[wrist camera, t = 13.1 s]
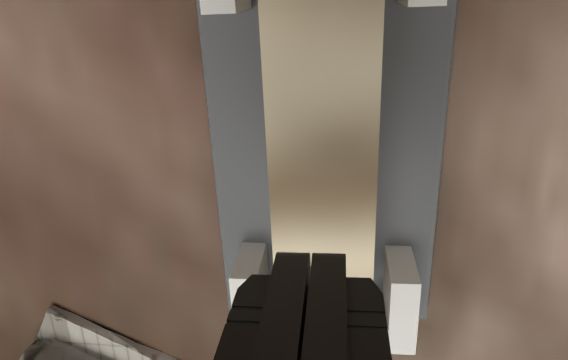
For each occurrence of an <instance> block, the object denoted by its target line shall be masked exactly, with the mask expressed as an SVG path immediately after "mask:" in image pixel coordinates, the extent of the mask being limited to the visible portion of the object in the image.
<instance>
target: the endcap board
mask: <svg viewBox="0 0 568 360" xmlns="http://www.w3.org/2000/svg"><path fill="white" fill-rule="evenodd" d="M457 1H458V0H385V8H384V32H383V57H382V82H381V106H380V131H379V156H378V180H377V205H376V229H375V254H374V279H373V281H374V283H375V284H376V285H377V286H378V288H379V289H380V290H381V292H382V293H383V297H384V304H385V315H386V319H387V327H388V328H387V329H388V334H389V342H390V349H391V354H405V355H415V353H416V341H417V330H418V319H426V317H427V307H428V296H429V286H430V276H431V266H432V256H433V245H434V235H435V225H436V215H437V205H438V194H439V184H440V174H441V164H442V154H443V143H444V133H445V123H446V113H447V103H448V92H449V82H450V72H451V62H452V52H453V41H454V31H455V21H456V11H457ZM196 6H197V15H198V25H199V34H200V44H201V53H202V62H203V72H204V81H205V90H206V100H207V109H208V118H209V128H210V137H211V146H212V156H213V165H214V174H215V184H216V193H217V202H218V212H219V221H220V230H221V240H222V249H223V259H224V268H225V277H226V287H227V296H228V305H229V312H230V309H231V308H232V303H233V300H234V297H235V294H236V291H237V288H238V287H239V286H240V285H241V284H243V283H244V282H245V281H246V280H247V279H248V278H249V277H250V276H251V275H252V274H258V275H271V272H272V268H273V252H272V235H271V218H270V201H269V185H268V168H267V151H266V134H265V117H264V100H263V83H262V66H261V49H260V32H259V15H258V0H196Z"/></svg>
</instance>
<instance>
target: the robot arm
mask: <svg viewBox="0 0 568 360" xmlns="http://www.w3.org/2000/svg"><path fill="white" fill-rule="evenodd" d="M387 328H388V327H387V319H386V315H385V304H384V297H383V293H382V292H381V290H380V289H379V288H378V286H377V285H376V284H375V283H374V281H373V280H372V279H371V278H359V277H346V254H340V253H312V261H311V258H310V253H295V252H277V253H276V256H275V260H274V264H273V268H272V272H271V275H258V274H252V275H251V276H250V277H249V278H248V279H247V280H246V281H245V282H244V283H243V284H241V285H240V286H239V287H238V288H237V291H236V294H235V297H234V300H233V303H232V308H231V309H230V312H229V315H228V318H227V324H225V327H224V330H223V333H222V336H221V339H220V342H219V344H218V347H217V350H216V353H215V356H214V359H213V360H392V357H391V349H390V342H389V334H388V329H387Z"/></svg>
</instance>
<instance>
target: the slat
mask: <svg viewBox="0 0 568 360" xmlns="http://www.w3.org/2000/svg"><path fill="white" fill-rule="evenodd" d="M384 8H385V0H258V15H259V32H260V49H261V66H262V83H263V100H264V117H265V134H266V151H267V168H268V185H269V201H270V218H271V235H272V252H273V264H274V260H275V256H276V253H277V252H295V253H310V258H311V261H312V253H340V254H346V277H359V278H371V279H372V280H373V279H374V254H375V229H376V205H377V180H378V156H379V131H380V106H381V82H382V57H383V32H384Z"/></svg>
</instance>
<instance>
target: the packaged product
mask: <svg viewBox="0 0 568 360" xmlns="http://www.w3.org/2000/svg"><path fill="white" fill-rule="evenodd" d="M19 360H178V359H176V358H174V357H171V356H169V355H166V354H164V353H162V352H160V351H158V350H155V349H152V348H150V347H147V346H144V345H141V344H139V343H136V342H134V341H132V340H130V339H128V338H126V337H124V336H122V335H119V334H116V333H114V332H111V331H109V330H106V329H104V328H102V327H100V326H98V325H96V324H94V323H92V322H90V321H88V320H86V319H84V318H82V317H80V316H78V315H76V314H73V313H71V312H68V311H66V310H63V309H61V308H58V307H57V306H55V305H54V306H51V307H49V308H48V309H47V311H46V313H45V317H44V320H43V322H42V325H41V327H40V330H39V333H38V336H37V340H36V341H35V342H34V343H33V344H32V345H31V346H30V347H29V348H28V349H26V350H25V351H24V353H23V354H22V356H21V357H20V359H19Z"/></svg>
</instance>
